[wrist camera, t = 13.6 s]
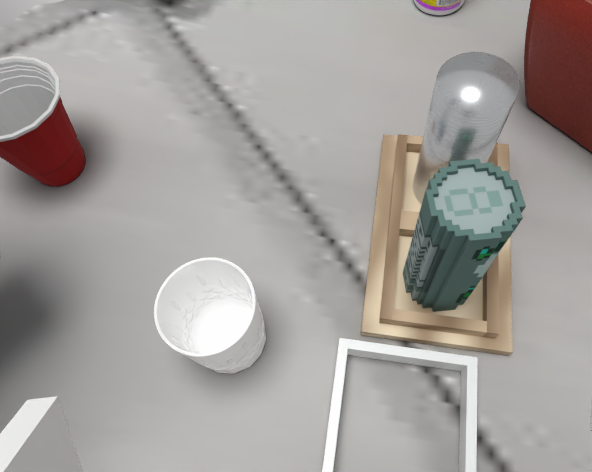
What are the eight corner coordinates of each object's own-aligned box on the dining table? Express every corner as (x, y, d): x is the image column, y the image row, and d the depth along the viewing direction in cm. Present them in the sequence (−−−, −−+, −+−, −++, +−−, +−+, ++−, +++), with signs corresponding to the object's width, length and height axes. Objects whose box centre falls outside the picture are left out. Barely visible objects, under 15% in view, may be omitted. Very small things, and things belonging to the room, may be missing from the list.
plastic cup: (120, 181, 56) (67, 110, 45) (27, 221, 55) (-50, 157, 44) (96, 114, 61) (42, 36, 50) (10, 150, 59) (-64, 77, 49)
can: (477, 307, 45) (534, 234, 31) (410, 313, 45) (437, 243, 32) (462, 246, 48) (509, 155, 34) (399, 253, 48) (420, 164, 34)
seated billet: (410, 210, 50) (434, 110, 36) (414, 160, 52) (438, 50, 39) (472, 216, 49) (520, 116, 35) (473, 165, 51) (518, 54, 38)
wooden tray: (361, 334, 46) (361, 326, 44) (382, 141, 55) (384, 125, 53) (508, 355, 44) (517, 348, 42) (505, 151, 53) (512, 135, 51)
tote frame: (321, 484, 41) (320, 484, 39) (340, 345, 46) (339, 338, 43) (468, 511, 39) (475, 513, 37) (470, 363, 44) (477, 357, 42)
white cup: (288, 321, 47) (274, 284, 38) (243, 397, 44) (218, 376, 35) (219, 284, 49) (192, 241, 40) (173, 354, 47) (133, 324, 38)
